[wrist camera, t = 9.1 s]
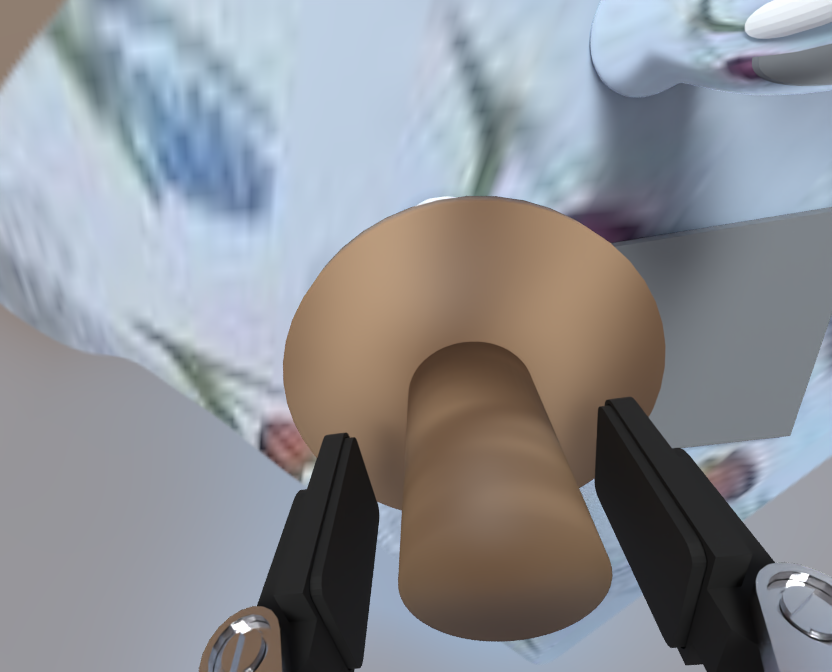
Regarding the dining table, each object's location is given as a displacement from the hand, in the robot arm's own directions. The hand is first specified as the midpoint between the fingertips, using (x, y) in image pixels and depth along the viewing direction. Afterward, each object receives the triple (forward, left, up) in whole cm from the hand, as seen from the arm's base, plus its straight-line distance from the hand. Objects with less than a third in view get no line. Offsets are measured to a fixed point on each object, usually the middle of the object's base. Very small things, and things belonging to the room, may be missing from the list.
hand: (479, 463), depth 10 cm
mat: (-16, +10, -18) cm, 26 cm away
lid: (0, 0, -4) cm, 4 cm away
